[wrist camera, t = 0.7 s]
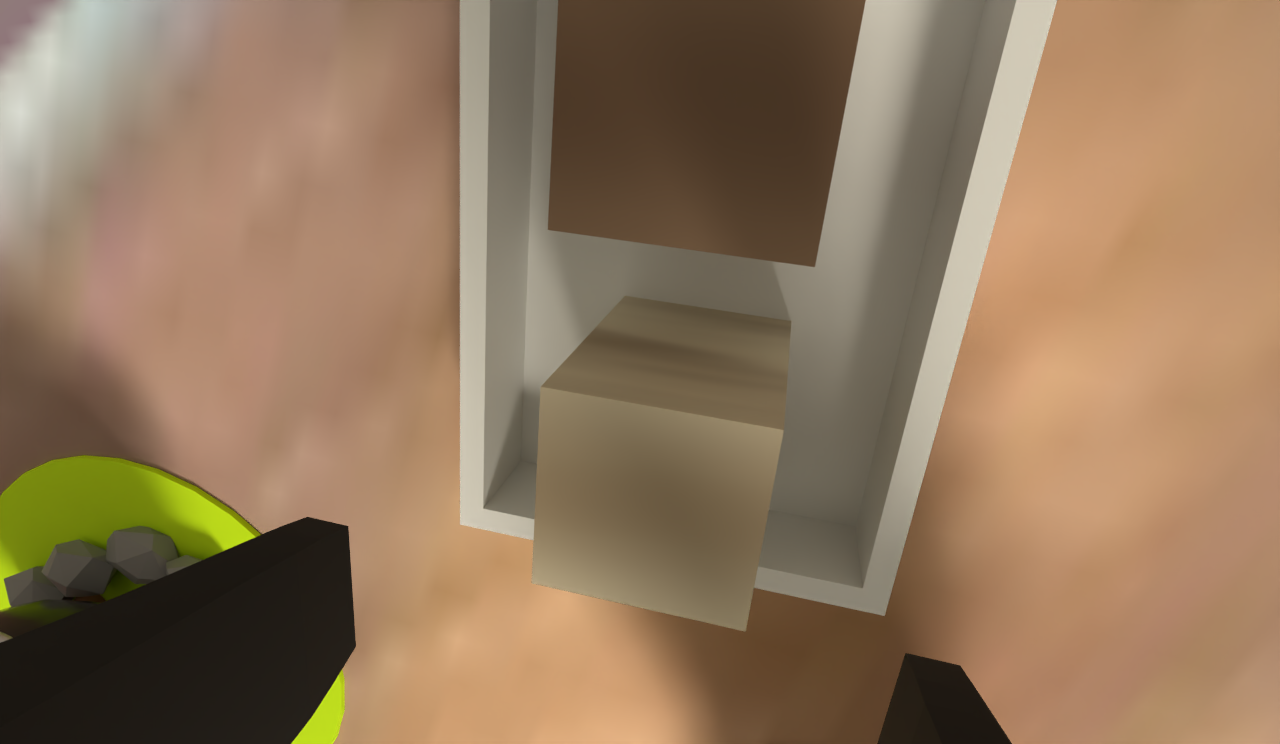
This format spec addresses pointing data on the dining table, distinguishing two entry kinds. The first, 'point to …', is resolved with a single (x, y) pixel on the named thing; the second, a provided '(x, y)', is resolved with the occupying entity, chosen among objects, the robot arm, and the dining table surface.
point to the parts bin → (757, 276)
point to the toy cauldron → (112, 546)
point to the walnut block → (700, 121)
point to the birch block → (662, 459)
